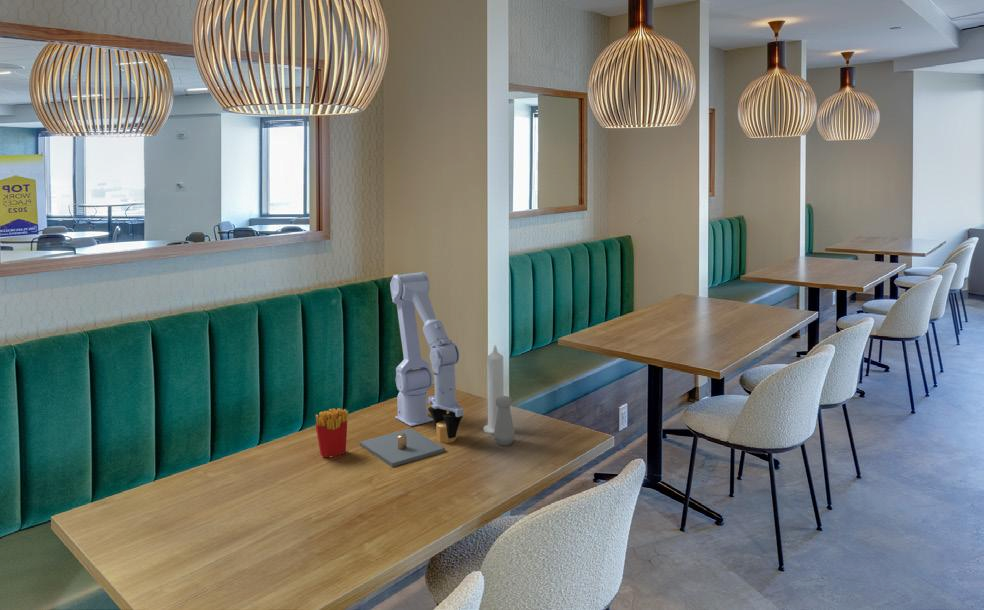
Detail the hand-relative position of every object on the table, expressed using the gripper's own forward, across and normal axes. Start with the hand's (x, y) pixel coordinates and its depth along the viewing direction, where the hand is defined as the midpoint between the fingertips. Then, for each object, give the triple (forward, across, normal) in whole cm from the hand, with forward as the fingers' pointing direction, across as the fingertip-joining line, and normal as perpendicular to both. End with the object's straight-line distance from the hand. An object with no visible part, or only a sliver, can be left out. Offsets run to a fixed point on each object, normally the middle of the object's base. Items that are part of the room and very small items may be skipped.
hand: (446, 434), depth 205 cm
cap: (+1, 0, 0) cm, 1 cm away
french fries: (+2, -10, -29) cm, 31 cm away
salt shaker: (+2, +12, +11) cm, 16 cm away
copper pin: (+1, 0, -14) cm, 14 cm away
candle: (+2, +3, +15) cm, 15 cm away
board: (+1, -2, -13) cm, 13 cm away
